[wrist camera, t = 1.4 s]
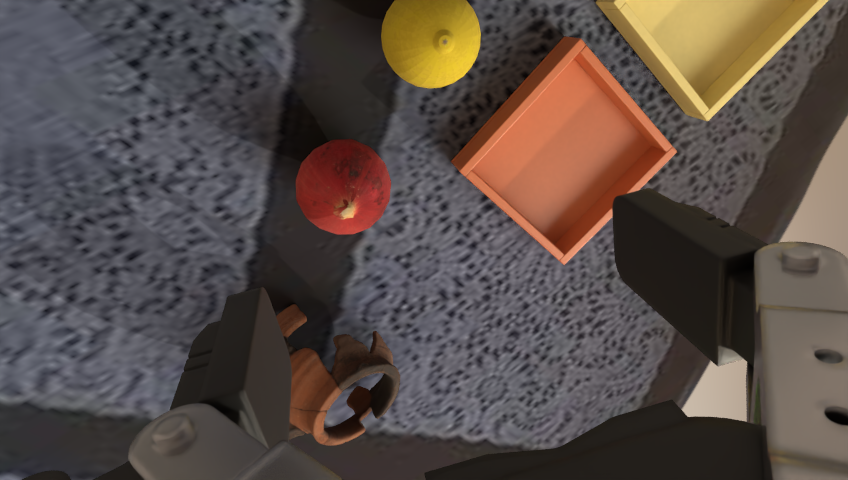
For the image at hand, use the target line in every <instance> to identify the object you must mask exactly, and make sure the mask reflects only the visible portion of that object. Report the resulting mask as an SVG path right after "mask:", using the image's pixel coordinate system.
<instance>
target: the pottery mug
mask: <svg viewBox="0 0 848 480" xmlns="http://www.w3.org/2000/svg"><path fill="white" fill-rule="evenodd" d="M276 318H277V321H278V323H279V326H280V329H281V332H282V334H283V337H284V340H285V343H286V346H287V349H288V352H289V356H290V361H291V368H292V382H291V402H290V421H289V440H290V439H292V438H293V437H296V436H300V435H304V434H305V432H306V433H308V434H309V433H310V434H312V435H313V436H314V438H315V440H316V441H317V442H319V443H320V444H324V445H338V444H342V443H344V442H348V441H350V440H352V439H354V438H356V437H358V436H359V435H361V434H362V433H364V432H365V428H364V426H363V424H362V423H361V420H362V419H363V418H365V417H366V416H367V415H368V414H369V413H370V412H371V411H373V414H374V416H375V418H380V417H381V416H383V415H384V414H385V413H386V412H387V410H388V409H389V408H390V406H391V405H392V403H393V401H394V400H395V398H396V395H397V393H398V390H399V385H400V383H399V382H400V374H399V372H398V369H397V368H396V367H395V366H393V359H392V352H391V351H390V349H389V348H388V347H387V345H386V344H385V342H384V341H383V339H382V337H381V336H380V335H379V334H378V333H377V331H374V332H373V343H372V346H371V349H370V352H369V350H368V349H367V347H366V346H365V345H364V344H363V343H361V342H359V341H357V340H354V339H353V338H352V337H351V336H350V335H347V334H343V335H337V336H335V337H334V338H333V341H334V344H335V346H336V348H337V350H336V355H335V362H334V365H333V368H332V372H331V373H330V372H329V371H328V370H327V368H326V367H325V366H324V364H323V363H322V361H321V360H320V358H319V356H318V354H317V352H316V351H314V350H312V349H310V348H303V349H300V350H298V351H297V350H296V348H295V347H293V346H292V345H291V344H289V343H288V340H287V338H288V337H289V336H290V335H291V334H292V332H294V331H295V330H296V329H297V328H298V327H300V326H301V325H302V324H304V323H305V322H306V321H307V318H306V316H305V315H304V313H303V312H301V311H300V309H299V308H298V307H297V305H296V304H293V305H291V306H289V307H287V308H286V309H284V310H283V311H282V312H281V313H279V314H278V315H277V316H276ZM374 373H384V375H383V377H382V378H381V380H380V381H379V382H378V383H377V384H376V385H375V386H374V387H373V388H371V390H370V391H369V390H368V389H366V388H363V387H361V386H357V387H356V388H355V389H354V390H353V391H352V393H351V394H350V396H349V397H348V399H347V404H348V406H349V407H350V408H352V409H353V410H354V412H355V414H354V415H353V416H352V417H350V418H349V419H347V420H345V421H344V422H342V423H340V424H338V425H336V426H333V427H328V428H324V427H323V425H324V419H325V416H326V414H327V410H328V409H329V408H330V407H331V405H332V403H333V402H334V401H335V400H336V399H337V397H338V396H339V395H340V394H341V393H342V391H343V390H345V389H346V388H347V387H349V386H350V385H352V384H353V383H354V382H356V381H357V380H359V379H361V378H363V377H365V376H368V375H371V374H374Z"/></svg>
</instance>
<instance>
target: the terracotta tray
mask: <svg viewBox="0 0 848 480" xmlns="http://www.w3.org/2000/svg"><path fill="white" fill-rule="evenodd" d="M676 152H677V151H676V150H675V148H674V147H673V146H672V145H671V144H670V143H669V142H668V140H667V139H666V138H665V137H664V136H663V134H662V133H661V132H660V131H659V130H658V129H657V127H656V126H655V125H654V124H653V123H652V122H651V120H650V119H649V118H648V117H647V116H646V115H645V113H644V112H643V111H642V110H641V109H640V107H639V106H638V105H637V104H636V103H635V102H634V100H633V99H632V98H631V97H630V96H629V95H628V93H627V92H626V91H625V90H624V89H623V88H622V86H621V85H620V84H619V83H618V82H617V80H616V79H615V78H614V77H613V76H612V75H611V73H610V72H609V71H608V70H607V69H606V68H605V66H604V65H603V64H602V63H601V62H600V60H599V59H598V58H597V57H596V56H595V55H594V53H593V52H592V51H591V50H590V49H589V48H588V46H586V44H585V43H584V42H583V41H582V39H580V38H573V37H566V36H564V37H563V38H562V40H561V41H560V42H559V43H558V44H557V45H556V46H555V47H554V48H553V49H552V51H551V52H550V53H549V54H548V55H547V56H546V57H545V58H544V59H543V60H542V62H541V63H540V64H539V65H538V66H537V67H536V68H535V69H534V70H533V71H532V73H531V74H530V75H529V76H528V77H527V78H526V79H525V80H524V81H523V82H522V84H521V85H520V86H519V87H518V88H517V89H516V90H515V91H514V92H513V94H512V95H511V96H510V97H509V98H508V99H507V100H506V101H505V102H504V103H503V105H502V106H501V107H500V108H499V109H498V110H497V111H496V112H495V113H494V114H493V116H492V117H491V118H490V119H489V120H488V121H487V122H486V123H485V124H484V125H483V127H482V128H481V129H480V130H479V131H478V132H477V133H476V134H475V135H474V136H473V138H472V139H471V140H470V141H469V142H468V143H467V144H466V145H465V146H464V147H463V149H462V150H461V151H460V152H459V153H458V154H457V155H456V156H455V157H454V158H453V160H452V161H451V162H452V164H453V165H454V166H455V167H456V168H457V169H458V170H459V172H461V173H462V174H463V175H464V176H465V177H466V178H467V179H468V180H469V181H471V182H472V183H473V184H474V185H475V186H476V187H477V188H478V189H480V190H481V191H482V192H483V193H484V194H485V195H486V196H487V197H489V198H490V199H491V200H492V201H493V202H494V203H495V204H496V205H497V206H499V207H500V208H501V209H502V210H503V211H504V212H505V213H506V214H508V215H509V216H510V217H511V218H512V219H513V220H514V221H515V222H516V223H518V224H519V225H520V226H521V227H522V228H523V229H524V230H525V231H527V232H528V233H529V234H530V235H531V236H532V237H533V238H534V239H535V240H537V241H538V242H539V243H540V244H541V245H542V246H543V247H544V248H546V249H547V250H548V251H549V252H550V253H551V254H552V255H553V256H554V257H556V258H557V259H558V260H559V261H560V262H561V263H562V264H563V265H565V264H566V263H567V262H568V261H569V260H570V259H571V258H572V257H573V256H574V255H575V254H576V253H577V252H578V251H579V250H580V249H581V248H582V247H583V246H584V245H585V244H586V243H587V242H588V241H589V240H590V239H591V238H592V237H593V236H594V235H595V234H596V233H597V232H598V231H599V230H600V229H601V228H602V227H603V226H604V225H605V224H606V223H607V222H608V221H609V220H610V219H611V218H612V217H613V214H612V205H613V200H614V198H615V197H616V196H619V195H623V194H627V193H631V192H635V191H638V190H639V189H640V188H641V187H642V186H643V185H644V184H645V183H646V182H647V181H648V180H649V179H650V178H651V177H652V176H653V175H654V174H655V173H656V172H657V171H658V170H659V169H660V168H661V167H662V166H663V165H664V164H665V163H666V162H667V161H668V160H669V159H670V158H671V157H672V156H673V155H674V154H675V153H676Z"/></svg>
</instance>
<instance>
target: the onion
mask: <svg viewBox="0 0 848 480" xmlns="http://www.w3.org/2000/svg"><path fill="white" fill-rule="evenodd" d="M390 187H391V180H390V177H389V174H388V171H387V168H386V165H385V163H384V162H383V161H382V160H381V158H380V157H379V156H378V155H377V154H376V153H375V151H374V150H373V149H372V148H371V147H369V146H367V145H364V144H362V143H360V142H357V141H355V140H353V139H342V140H331V141H329V142H327V143H325V144H323V145H321V146H319V147H317V148H315V149H314V150H313V151H312V152H311V153H310V154H309V155H308V156H307V158H306V159H305V160H304V161H303V162H302V164H301V166H300V169H299V172H298V175H297V178H296V199H297V202H298V204H299V206H300V208H301V209H302V211H303V213H304V215H305V217H306V218H307V219H309V220H310V221H311V222H312V223H313V224H315V225H316V226H317V227H318V228H320V229H323V230H326V231H329V232H332V233H335V234H355V233H357V232H360V231H363V230H365V229H368V228H370V227H371V226H372V225H373V224H374V223H375V222H376V221H377V220H378V219H379V218H381V216H382V215H383V212H384V210H385V208H386V206H387V204H388V202H389V198H390Z"/></svg>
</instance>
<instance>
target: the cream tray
mask: <svg viewBox="0 0 848 480" xmlns="http://www.w3.org/2000/svg"><path fill="white" fill-rule="evenodd" d="M827 1H828V0H597V1H596V4H597V5H598V6H599V8H600V9H601V10H602V11H603V13H604V14H605V15H606V16H607V18H608V19H609V20H610V21H611V22H612V24H613V25H614V26H615V27H616V29H617V30H618V31H619V32H620V34H621V35H622V36H623V37H624V39H625V40H626V41H627V42H628V44H629V45H630V46H631V47H632V48H633V50H634V51H635V52H636V53H637V55H638V56H639V57H640V58H641V60H642V61H643V62H644V63H645V65H646V66H647V67H648V68H649V69H650V71H651V72H652V73H653V74H654V76H655V77H656V78H657V79H658V81H659V82H660V83H661V84H662V86H663V87H664V88H665V89H666V91H667V92H668V93H669V94H670V95H671V97H672V98H673V99H674V100H675V102H676V103H677V104H678V105H679V107H680V108H681V109H682V110H683V112H684V113H685V114H686V115H689V116H692V117H695V118H699V119H702V120H705V121H708V120H709V119H710V118H711V117H712V116H713V115H714V114H715V113H716V112H717V111H718V110H719V109H720V108H721V107H722V106H723V105H724V104H725V103H726V102H727V101H728V100H729V99H730V98H731V97H732V96H733V95H734V94H735V93H736V92H737V91H738V90H739V89H740V88H741V87H742V86H743V85H744V84H745V83H746V82H747V81H748V80H749V79H750V78H751V77H752V76H753V75H754V74H755V73H756V72H757V71H758V70H759V69H760V68H761V67H762V66H763V65H764V64H765V63H766V62H767V61H768V60H769V59H770V58H771V57H772V56H773V55H774V54H775V53H776V52H777V51H778V50H779V49H780V48H781V47H782V46H783V45H784V44H785V43H786V42H787V41H788V40H789V39H790V38H791V37H792V36H793V35H794V34H795V33H796V32H797V31H798V30H799V29H800V28H801V27H802V26H803V25H804V24H805V23H806V22H807V21H808V20H809V19H810V18H811V17H812V16H813V15H814V14H815V13H816V12H817V11H818V10H819V9H820V8H821V7H822V6H823V5H824V4H825V3H826V2H827Z"/></svg>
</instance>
